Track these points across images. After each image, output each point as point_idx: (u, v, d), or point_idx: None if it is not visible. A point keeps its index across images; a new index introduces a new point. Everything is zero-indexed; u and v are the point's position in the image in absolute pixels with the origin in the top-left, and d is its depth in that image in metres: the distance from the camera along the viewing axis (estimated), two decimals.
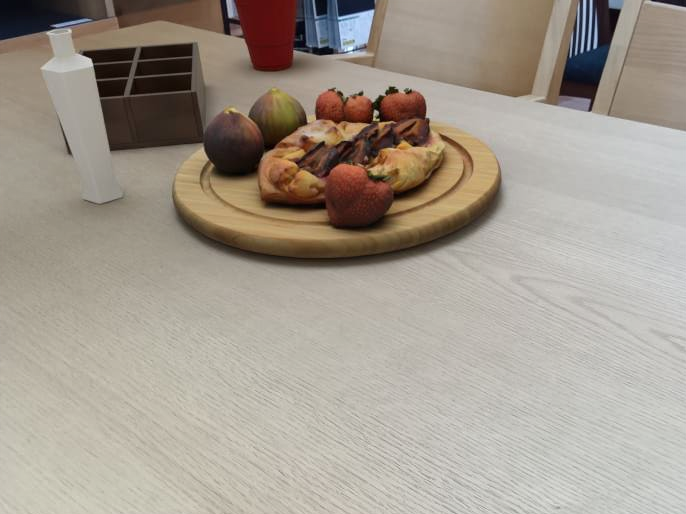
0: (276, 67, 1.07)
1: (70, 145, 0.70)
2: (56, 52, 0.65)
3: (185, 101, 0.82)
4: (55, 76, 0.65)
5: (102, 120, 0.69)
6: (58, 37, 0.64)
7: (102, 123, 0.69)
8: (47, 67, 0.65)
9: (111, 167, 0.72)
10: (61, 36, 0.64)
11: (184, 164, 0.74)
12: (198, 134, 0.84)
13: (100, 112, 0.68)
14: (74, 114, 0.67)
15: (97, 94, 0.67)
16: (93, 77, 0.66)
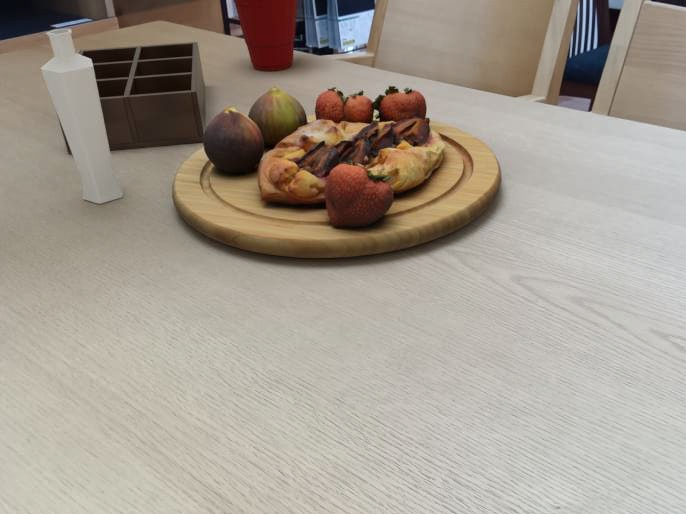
0: (276, 67, 1.07)
1: (70, 145, 0.70)
2: (56, 52, 0.65)
3: (185, 101, 0.82)
4: (55, 76, 0.65)
5: (102, 120, 0.69)
6: (58, 37, 0.64)
7: (102, 123, 0.69)
8: (47, 67, 0.65)
9: (111, 167, 0.72)
10: (61, 36, 0.64)
11: (184, 164, 0.74)
12: (198, 134, 0.84)
13: (100, 112, 0.68)
14: (74, 114, 0.67)
15: (97, 94, 0.67)
16: (93, 77, 0.66)
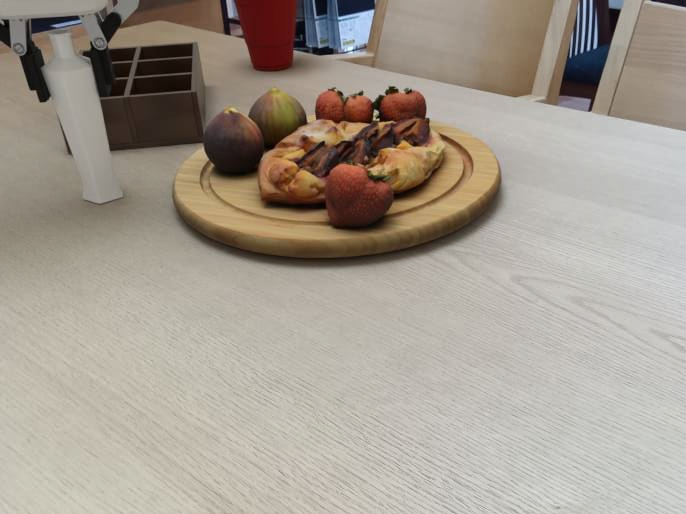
0: (276, 67, 1.07)
1: (70, 145, 0.70)
2: (56, 52, 0.65)
3: (185, 101, 0.82)
4: (55, 76, 0.65)
5: (102, 120, 0.69)
6: (58, 37, 0.64)
7: (102, 123, 0.69)
8: (47, 67, 0.65)
9: (111, 167, 0.72)
10: (61, 36, 0.64)
11: (184, 164, 0.74)
12: (198, 134, 0.84)
13: (100, 112, 0.68)
14: (74, 114, 0.67)
15: (97, 94, 0.67)
16: (93, 77, 0.66)
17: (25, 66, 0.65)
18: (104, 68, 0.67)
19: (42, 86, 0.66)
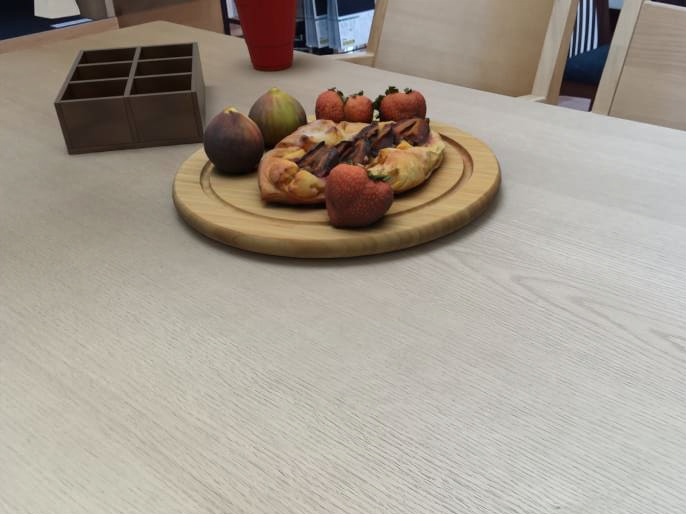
0: (276, 67, 1.07)
1: None
2: None
3: (185, 101, 0.82)
4: None
5: None
6: None
7: None
8: None
9: None
10: None
11: (184, 164, 0.74)
12: (198, 134, 0.84)
13: None
14: None
15: None
16: None
17: None
18: None
19: None
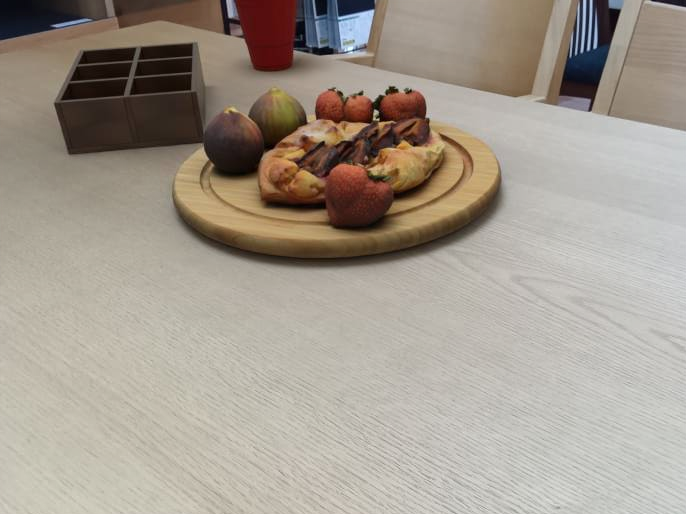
0: (276, 67, 1.07)
1: None
2: None
3: (185, 101, 0.82)
4: None
5: None
6: None
7: None
8: None
9: None
10: None
11: (184, 164, 0.74)
12: (198, 134, 0.84)
13: None
14: None
15: None
16: None
17: None
18: None
19: None
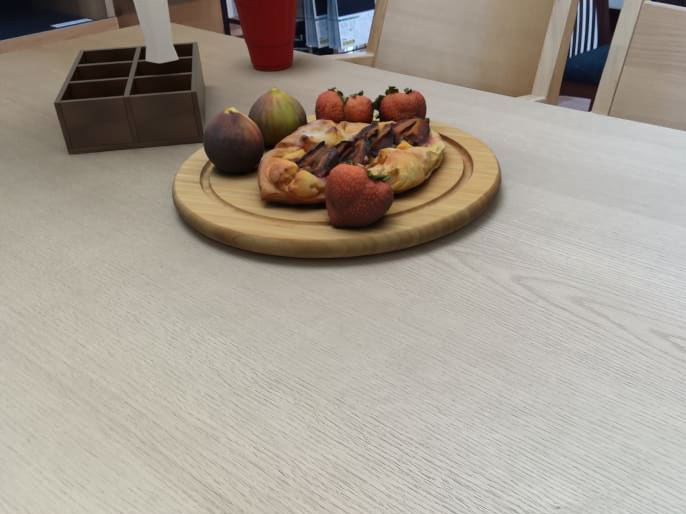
0: (276, 67, 1.07)
1: (137, 11, 0.85)
2: None
3: (185, 101, 0.82)
4: None
5: None
6: None
7: None
8: None
9: (170, 32, 0.87)
10: None
11: (184, 164, 0.74)
12: (198, 134, 0.84)
13: None
14: None
15: None
16: None
17: None
18: None
19: None
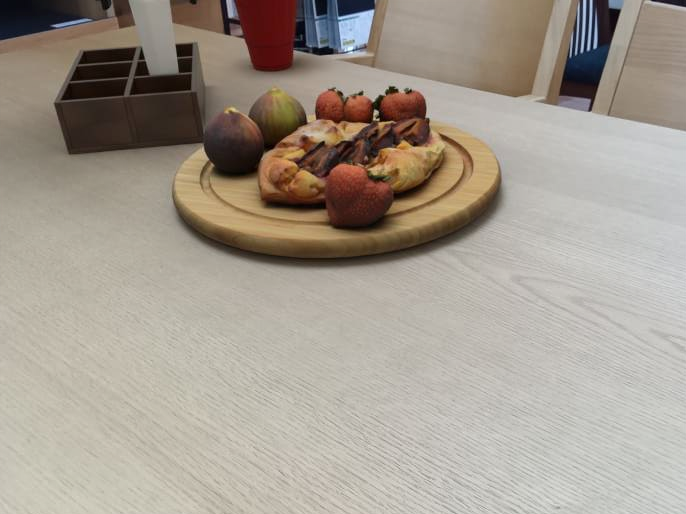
0: (276, 67, 1.07)
1: (148, 64, 0.88)
2: None
3: (185, 101, 0.82)
4: (141, 5, 0.83)
5: (174, 43, 0.87)
6: None
7: (174, 46, 0.87)
8: None
9: None
10: None
11: (184, 164, 0.74)
12: (198, 134, 0.84)
13: (173, 37, 0.87)
14: (153, 37, 0.85)
15: (171, 22, 0.86)
16: (169, 7, 0.85)
17: None
18: None
19: None
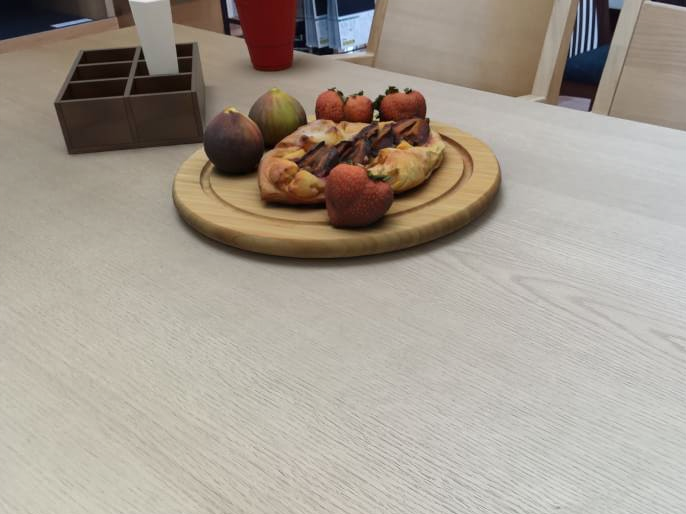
0: (276, 67, 1.07)
1: (148, 64, 0.88)
2: None
3: (185, 101, 0.82)
4: (141, 5, 0.83)
5: (174, 43, 0.87)
6: None
7: (174, 46, 0.87)
8: None
9: None
10: None
11: (184, 164, 0.74)
12: (198, 134, 0.84)
13: (173, 37, 0.87)
14: (153, 37, 0.85)
15: (171, 22, 0.86)
16: (169, 7, 0.85)
17: None
18: None
19: None
